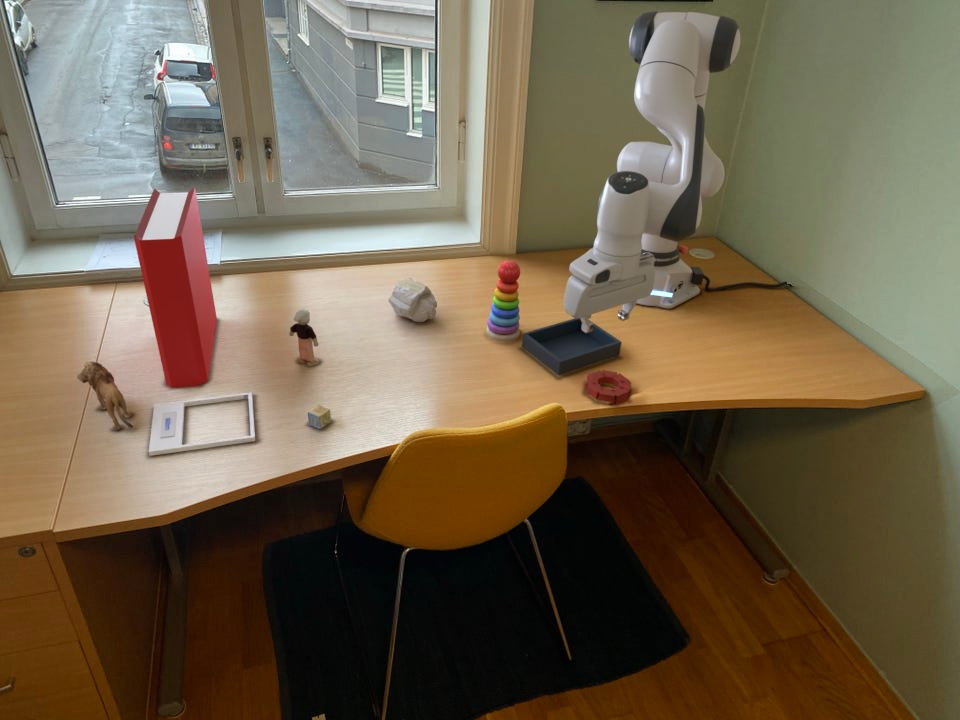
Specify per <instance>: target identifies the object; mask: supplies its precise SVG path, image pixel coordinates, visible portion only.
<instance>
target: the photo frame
mask: <svg viewBox="0 0 960 720" xmlns="http://www.w3.org/2000/svg"><path fill="white" fill-rule="evenodd" d="M247 399H248V412H249V431H250V432H249V433H250V435H244V436H237V437H229V438H222V439H216V440H208V441H201V442H200V441H199V442H194V443H187V444H183V437H184V420H185V407H190V406H191V407H192V406H199V405H206V404H215V403H222V402H231V401H239V400H247ZM253 402H254V401H253V392H252V391H251V392H243V393H235V394H225V395H219V396H210V397H203V398H202V397H201V398H194V399H188V400H187V399H186V400H179V401H178V400H177V401H170V402H162V403H154V404H153V411H152V420H151V427H150V428H151V429H150V438H149V445H148V456H149V457H151V456H159V455H166V454H172V453H179V452H187V451H194V450H200V449H208V448H216V447H222V446H223V447H224V446H229V445H237V444H244V443H245V444H246V443H252V442H256V432H255V431H256V430H255V417H254V416H255V415H254V403H253Z"/></svg>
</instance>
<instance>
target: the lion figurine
mask: <svg viewBox="0 0 960 720" xmlns="http://www.w3.org/2000/svg"><path fill="white" fill-rule="evenodd" d="M83 366H84V368H83V369H82V370H81V372H80V373H79V374H78V375H77V376H76V378H77V379H78V381H80V382H82V383H83V384H87V383H88V385H89V386H91V388H92V390H93V391H94V392H95V394H96V398H97V400H98V401H99V404H100V405H99V406H98V409H99V410H100V411H104V410H106V411H107V413H108V415H109V417H110V418H111V420H112V423H113V424H114V425H113V430H114V431H118V430H120V429H121V425H120V423H119V420H118V418H119V419H120V420H121V421H122V422H123V423H124V424H125V425H126V426H127V427H128V428H129V429H134V425H133V424H132V423H130V421H129V422H128V420H126V418H127V419H128V418H131V417H132V413H131V412H129V411H128V408H127V403H126V400H125V398H124V396H123V393H121V391H120V389H119V387H118V385H116V383H115V377H114V376H113V374H112V372H110V371H109V370H108V369H107V368H106V367H105V366H103V365H102V364H101V363H99V362H97V361H93V360H92V361H87V362H85V363H84V365H83ZM115 410H116V413H117V415H118V418H117V417H116V415H115ZM121 410H122V412H121ZM123 415H124V416H123Z"/></svg>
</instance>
